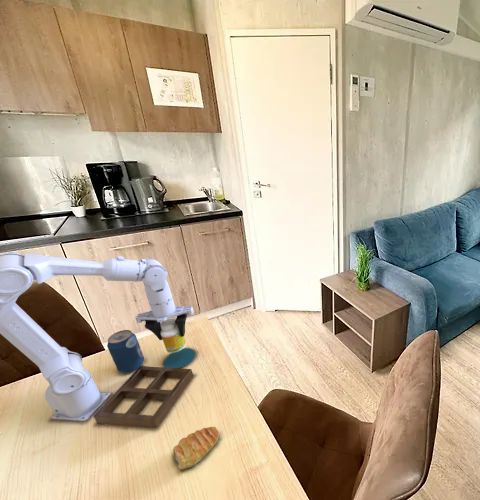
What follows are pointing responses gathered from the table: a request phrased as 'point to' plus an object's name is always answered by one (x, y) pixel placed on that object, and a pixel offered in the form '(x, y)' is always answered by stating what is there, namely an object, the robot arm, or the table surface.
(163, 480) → the table surface
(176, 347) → the supplement bottle
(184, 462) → the pastry
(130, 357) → the soda can
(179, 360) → the coaster
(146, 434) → the table surface
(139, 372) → the rack
